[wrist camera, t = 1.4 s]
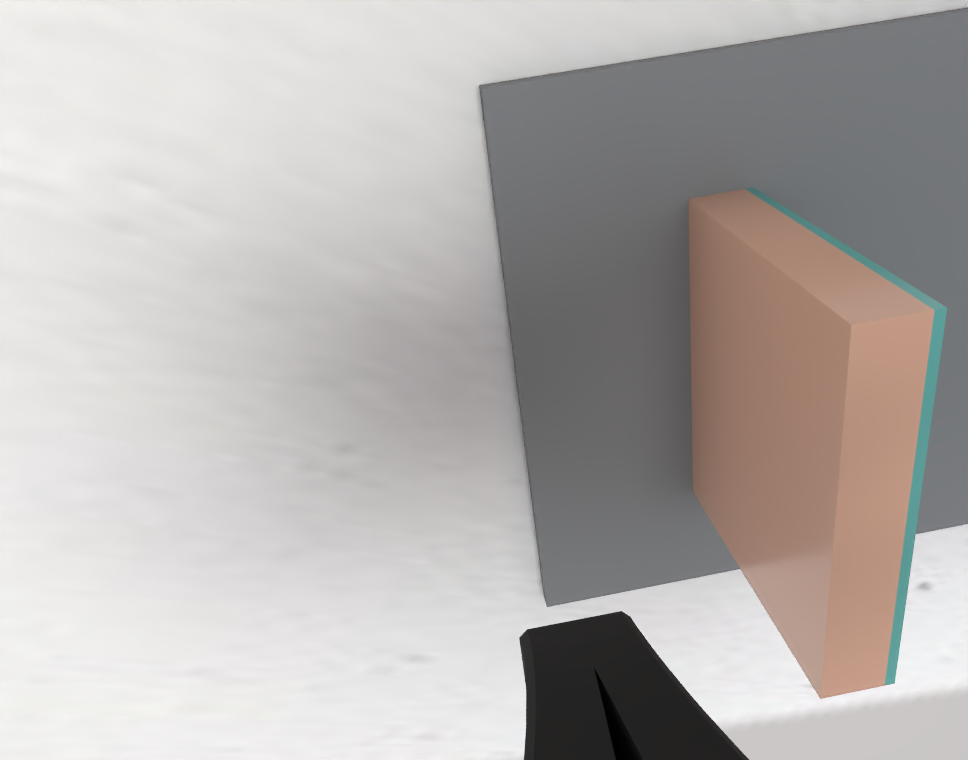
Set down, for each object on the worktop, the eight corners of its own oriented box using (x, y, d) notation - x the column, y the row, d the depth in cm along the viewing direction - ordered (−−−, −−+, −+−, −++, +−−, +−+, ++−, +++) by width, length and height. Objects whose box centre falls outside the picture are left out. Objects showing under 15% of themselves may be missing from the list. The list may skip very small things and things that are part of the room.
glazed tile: (753, 187, 19) (946, 308, 13) (747, 481, 23) (894, 683, 17) (688, 198, 19) (851, 325, 13) (693, 491, 23) (820, 698, 16)
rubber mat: (1289, -44, 19) (1307, -43, 18) (1139, 480, 25) (1150, 487, 25) (479, 85, 18) (482, 88, 17) (544, 597, 24) (547, 607, 24)
